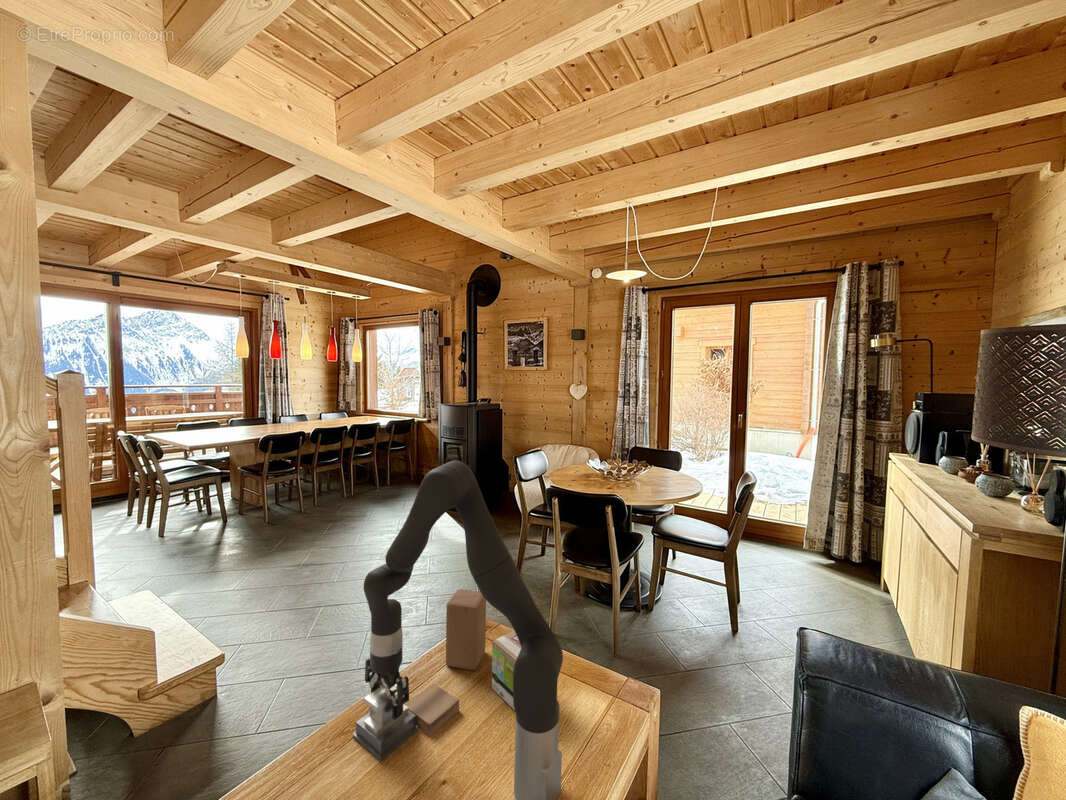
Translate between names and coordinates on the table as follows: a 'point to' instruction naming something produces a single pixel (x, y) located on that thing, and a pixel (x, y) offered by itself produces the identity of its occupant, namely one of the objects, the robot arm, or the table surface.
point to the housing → (381, 710)
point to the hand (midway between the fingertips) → (386, 708)
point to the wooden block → (465, 629)
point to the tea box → (504, 665)
